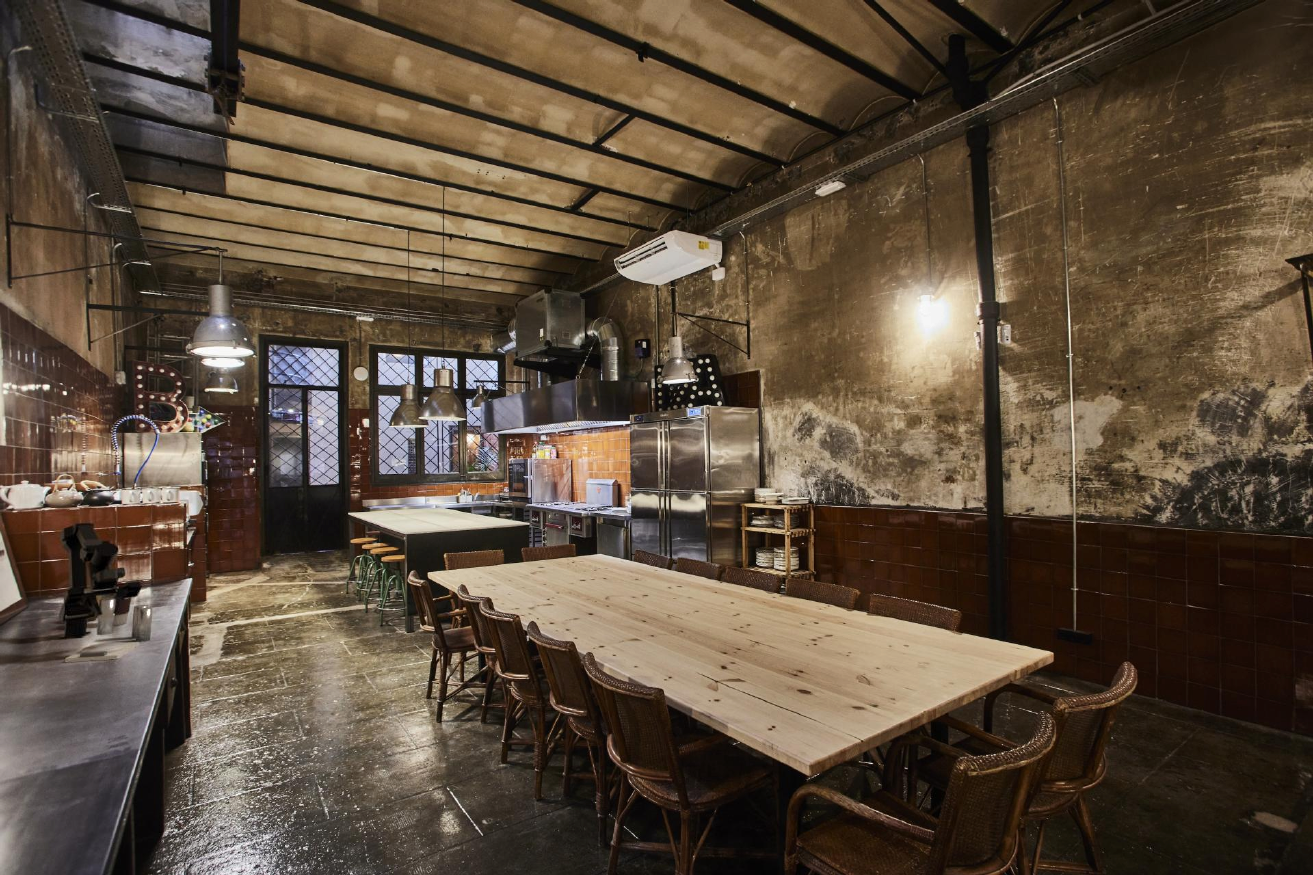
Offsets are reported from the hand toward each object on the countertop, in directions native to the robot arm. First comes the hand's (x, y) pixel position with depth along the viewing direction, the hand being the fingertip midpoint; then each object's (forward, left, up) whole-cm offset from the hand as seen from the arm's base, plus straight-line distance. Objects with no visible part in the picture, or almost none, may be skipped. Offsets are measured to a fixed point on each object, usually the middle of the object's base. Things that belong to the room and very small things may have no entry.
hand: (107, 613), depth 201 cm
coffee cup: (-44, -15, -13) cm, 48 cm away
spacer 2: (-21, +1, -13) cm, 25 cm away
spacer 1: (-1, -1, -7) cm, 7 cm away
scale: (-1, -1, -13) cm, 13 cm away
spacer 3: (-16, +4, -13) cm, 21 cm away
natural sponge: (-53, -26, -13) cm, 60 cm away
